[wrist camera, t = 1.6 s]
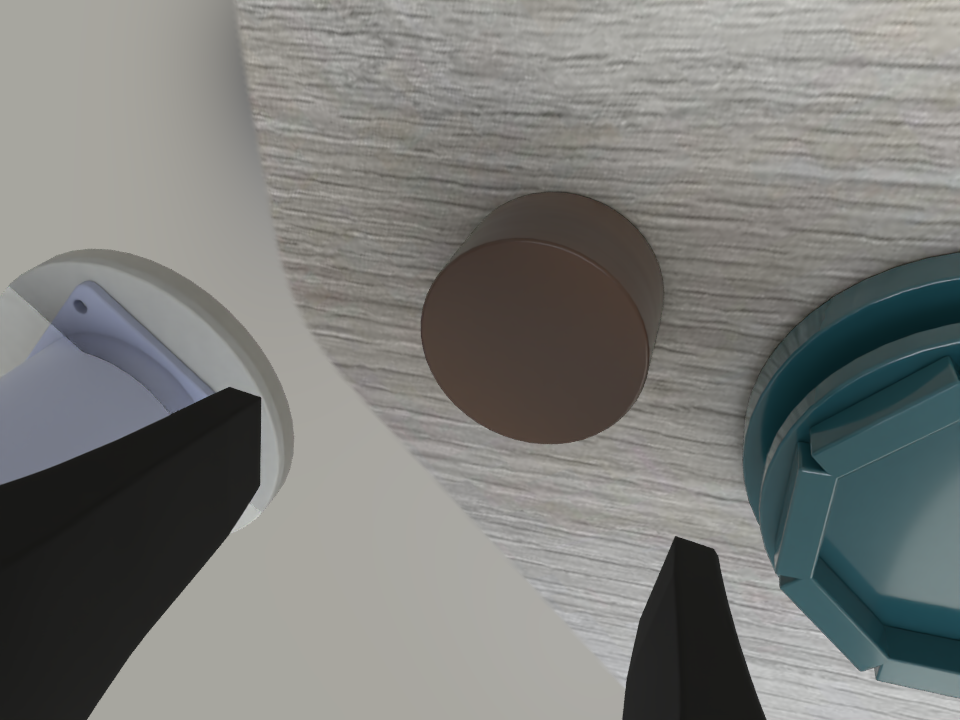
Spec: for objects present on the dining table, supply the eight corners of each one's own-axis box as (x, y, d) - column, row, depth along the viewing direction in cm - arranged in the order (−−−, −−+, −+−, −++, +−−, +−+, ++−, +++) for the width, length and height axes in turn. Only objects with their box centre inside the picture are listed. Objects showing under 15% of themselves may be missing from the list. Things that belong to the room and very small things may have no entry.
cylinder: (555, 411, 22) (528, 479, 20) (421, 275, 21) (376, 329, 19) (709, 308, 19) (701, 372, 17) (563, 145, 18) (531, 188, 16)
